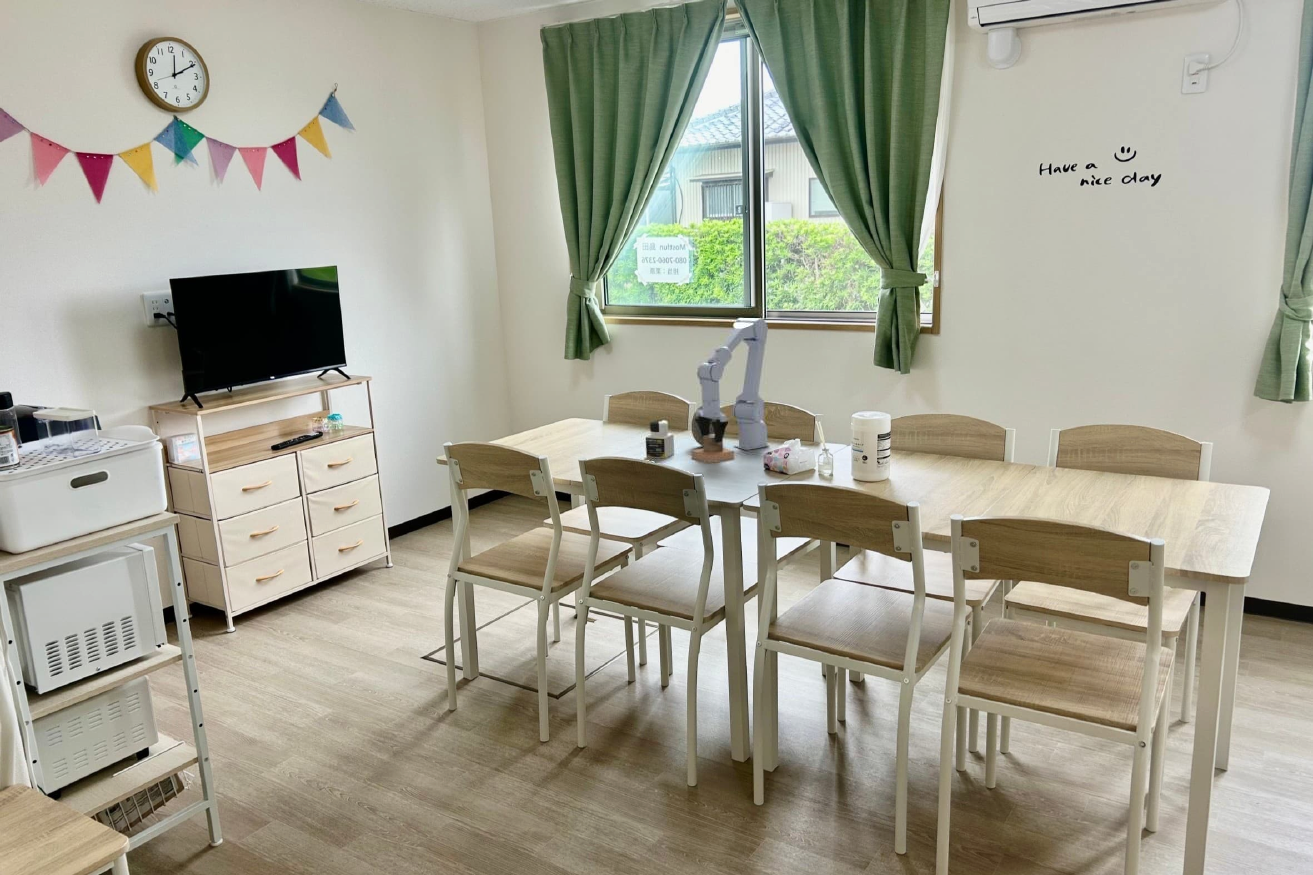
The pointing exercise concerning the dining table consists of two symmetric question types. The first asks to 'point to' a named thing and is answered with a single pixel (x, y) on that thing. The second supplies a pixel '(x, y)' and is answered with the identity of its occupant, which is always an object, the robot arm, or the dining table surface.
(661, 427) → the medicine bottle
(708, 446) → the walnut block
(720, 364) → the robot arm
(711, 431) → the decorative egg
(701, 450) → the terracotta slab
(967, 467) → the dining table surface
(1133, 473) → the dining table surface
